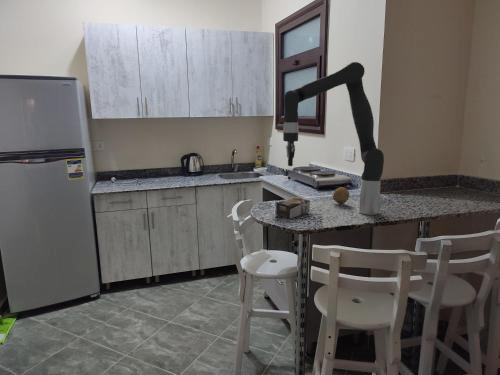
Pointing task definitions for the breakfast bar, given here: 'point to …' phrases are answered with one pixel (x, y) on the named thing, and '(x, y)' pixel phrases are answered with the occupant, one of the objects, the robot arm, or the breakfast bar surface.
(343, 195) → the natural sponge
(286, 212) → the coffee box
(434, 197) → the breakfast bar surface
